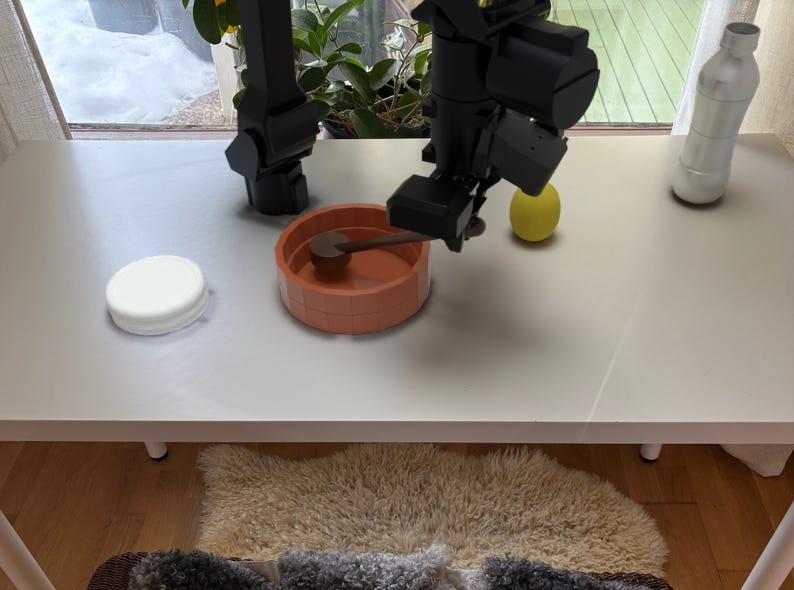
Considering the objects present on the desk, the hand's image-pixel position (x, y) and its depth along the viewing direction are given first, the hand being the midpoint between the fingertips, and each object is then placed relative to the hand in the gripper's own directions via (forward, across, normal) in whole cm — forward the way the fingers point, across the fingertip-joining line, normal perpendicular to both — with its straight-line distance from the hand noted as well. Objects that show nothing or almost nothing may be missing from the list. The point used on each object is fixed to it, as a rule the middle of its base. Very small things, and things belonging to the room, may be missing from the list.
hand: (459, 245), depth 73 cm
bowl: (+9, -1, +11) cm, 14 cm away
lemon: (+9, +15, -3) cm, 18 cm away
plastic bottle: (+9, +32, -18) cm, 38 cm away
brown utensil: (+6, 0, +7) cm, 9 cm away
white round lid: (+9, -12, +28) cm, 32 cm away
